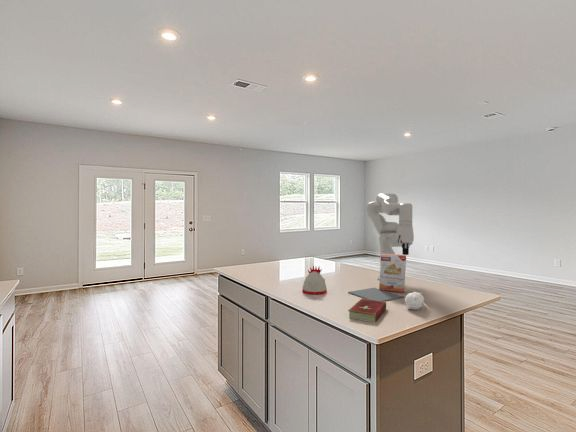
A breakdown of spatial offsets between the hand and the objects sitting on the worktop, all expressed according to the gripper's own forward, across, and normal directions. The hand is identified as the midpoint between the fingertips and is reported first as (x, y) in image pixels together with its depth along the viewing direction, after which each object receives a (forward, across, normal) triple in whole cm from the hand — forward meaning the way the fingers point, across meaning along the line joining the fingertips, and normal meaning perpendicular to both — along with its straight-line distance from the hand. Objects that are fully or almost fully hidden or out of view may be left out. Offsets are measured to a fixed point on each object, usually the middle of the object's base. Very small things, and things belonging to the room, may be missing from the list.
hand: (405, 254), depth 192 cm
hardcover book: (+22, +51, +22) cm, 60 cm away
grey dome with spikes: (+21, +51, -22) cm, 59 cm away
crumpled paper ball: (+21, +25, +28) cm, 44 cm away
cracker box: (+20, +11, -1) cm, 23 cm away
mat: (+21, +26, +1) cm, 33 cm away
